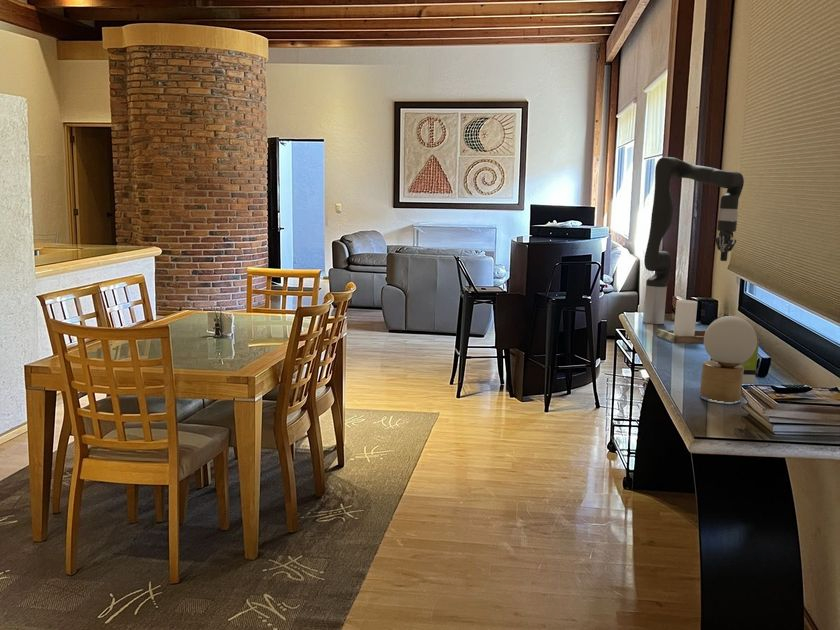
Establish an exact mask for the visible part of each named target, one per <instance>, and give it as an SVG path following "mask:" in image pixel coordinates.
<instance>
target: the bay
mask: <svg viewBox="0 0 840 630" xmlns="http://www.w3.org/2000/svg"><path fill="white" fill-rule="evenodd" d="M706 330H707V329H705V330H703V329H695V334H694V336H678V335H675V334H673V333H674V329H662V328H656V335H657V336H656V337H658V336H659V337H658V338H661V337H662V338H661V339H663V338H664V340H666V339H667V340H666V341H668V340H669V341H668V342H671V343H673V342H674V344H689V343H690V344H704V335H705V332H706Z"/></svg>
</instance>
